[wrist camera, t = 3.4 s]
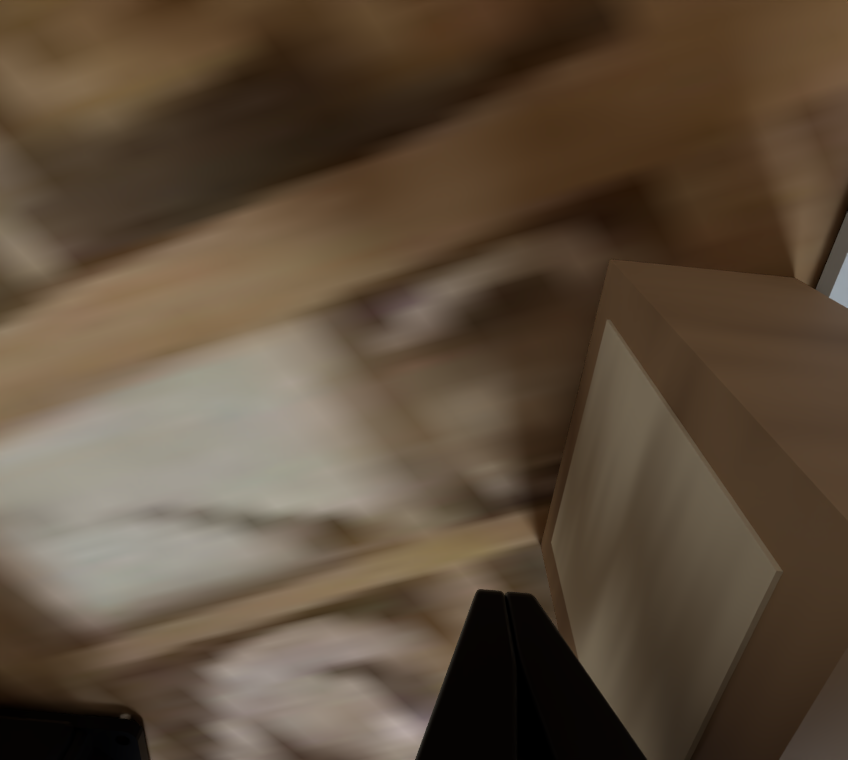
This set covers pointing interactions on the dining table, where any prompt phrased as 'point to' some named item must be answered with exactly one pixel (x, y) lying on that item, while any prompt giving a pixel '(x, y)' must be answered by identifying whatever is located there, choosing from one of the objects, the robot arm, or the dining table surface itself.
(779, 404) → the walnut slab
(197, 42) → the dining table surface
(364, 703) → the dining table surface
